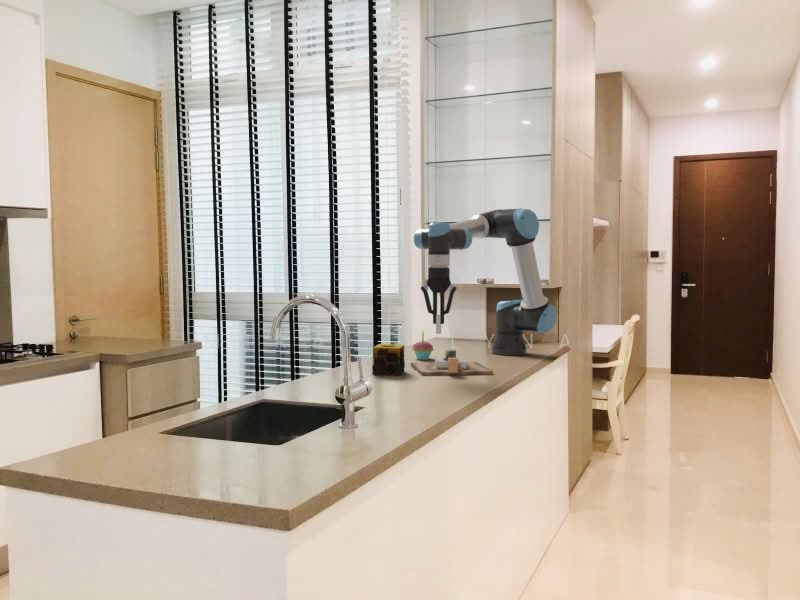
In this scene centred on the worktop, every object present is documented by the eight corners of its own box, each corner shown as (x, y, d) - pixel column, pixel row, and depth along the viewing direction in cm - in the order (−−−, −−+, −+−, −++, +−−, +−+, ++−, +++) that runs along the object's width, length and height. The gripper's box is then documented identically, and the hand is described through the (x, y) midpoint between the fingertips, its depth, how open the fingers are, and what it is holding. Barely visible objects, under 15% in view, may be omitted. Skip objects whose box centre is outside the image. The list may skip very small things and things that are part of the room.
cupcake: (433, 360, 291) (433, 331, 290) (412, 360, 291) (412, 330, 290) (432, 357, 299) (433, 328, 299) (412, 357, 300) (412, 328, 299)
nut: (435, 363, 275) (435, 351, 275) (464, 364, 275) (464, 351, 275) (437, 372, 256) (437, 358, 255) (468, 372, 255) (468, 359, 255)
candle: (399, 376, 255) (400, 348, 254) (371, 375, 257) (372, 347, 256) (405, 371, 265) (405, 344, 264) (378, 370, 267) (378, 343, 266)
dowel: (460, 370, 262) (461, 361, 262) (462, 371, 260) (462, 362, 260) (455, 370, 262) (455, 362, 261) (456, 371, 260) (457, 362, 259)
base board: (476, 364, 283) (476, 346, 282) (492, 374, 261) (493, 354, 260) (410, 365, 278) (410, 346, 278) (422, 375, 257) (422, 355, 256)
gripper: (419, 267, 253) (418, 334, 255) (456, 267, 250) (455, 335, 252) (422, 266, 260) (421, 331, 262) (458, 266, 258) (457, 332, 260)
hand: (438, 333), depth 257 cm, fingers closed
